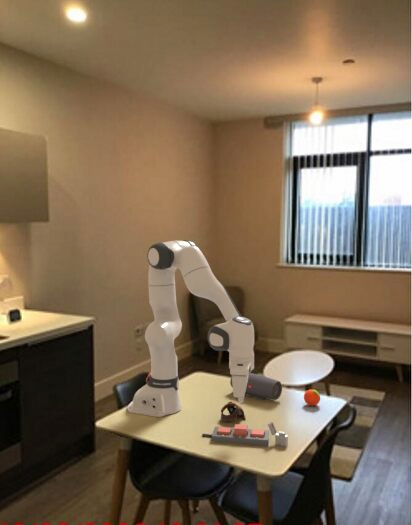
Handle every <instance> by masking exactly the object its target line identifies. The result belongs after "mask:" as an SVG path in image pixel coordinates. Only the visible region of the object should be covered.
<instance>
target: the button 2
mask: <svg viewBox="0 0 412 525" xmlns="http://www.w3.org/2000/svg"><path fill="white" fill-rule="evenodd" d="M233 428H234V435H237V436H247V429H248V424H239V423H237V424H236V423H235V424H234V427H233Z"/></svg>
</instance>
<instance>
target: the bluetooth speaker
mask: <svg viewBox="0 0 412 525" xmlns="http://www.w3.org/2000/svg"><path fill="white" fill-rule="evenodd" d="M230 386H231V387H230V388H232V389H233V386H232V376H231V377H230ZM282 392H283V386H282V383H281V381H279V380H277V379H274V378H271V377H268V376H265V375H261V374H256V373H252V372H250V374H249V377H248V383H247V387H246V391H245V396H248V397H251V398H255V399H258V400H266V399H267V400H271V401H277V400H278V399H280V397H281V395H282Z"/></svg>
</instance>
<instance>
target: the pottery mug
mask: <svg viewBox="0 0 412 525" xmlns="http://www.w3.org/2000/svg"><path fill="white" fill-rule="evenodd" d="M226 409H227V411H228V414H224V411H225V410H226ZM238 417H239V418H240V417H242V418H243V419H244V420H246V415H245V411H244V409H243V408H242V406H240V405H238V404H237V403H235V402H232V401H228V403H226V404H224V405H223V407H222V408H221V410H220V420H221V422H228V423H229V422H232V421H238Z"/></svg>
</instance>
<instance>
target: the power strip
mask: <svg viewBox="0 0 412 525" xmlns="http://www.w3.org/2000/svg"><path fill="white" fill-rule="evenodd" d="M219 427H220V426H214V428H213V431H212V433H202V435H201V437H205V438H211V442H212V443H220V444H221V443H223V444H233V445H234V444H235V445H246V446H247V445H251V446H262V447H269V444H270V443H269V442H270V429H269V430H267V429H265V430H264V429H263V430H264V437H251V431H252V429H253V430H256V429H254V428H247V436H237V435H234V428H235V427H230V428H231V435H224V434H218V428H219ZM224 427H225V428H229V427H226V426H224Z"/></svg>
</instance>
